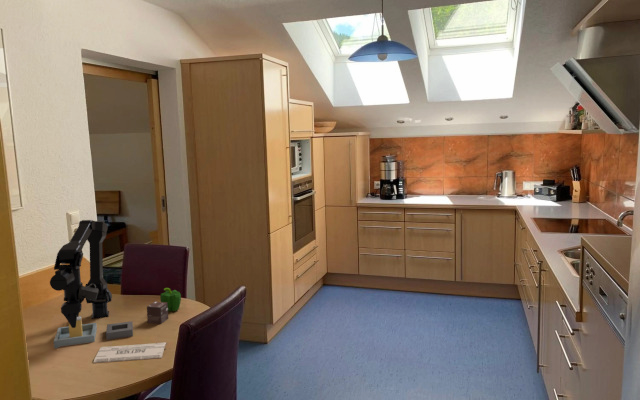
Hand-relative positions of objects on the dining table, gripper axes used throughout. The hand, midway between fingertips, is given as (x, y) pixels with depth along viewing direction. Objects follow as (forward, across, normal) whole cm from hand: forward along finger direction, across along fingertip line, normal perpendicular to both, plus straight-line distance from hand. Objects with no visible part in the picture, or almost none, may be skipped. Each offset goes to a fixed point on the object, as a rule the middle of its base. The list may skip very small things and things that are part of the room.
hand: (75, 323), depth 183 cm
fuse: (+5, 0, 0) cm, 5 cm away
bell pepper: (+6, +18, -35) cm, 40 cm away
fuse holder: (+6, -2, -15) cm, 16 cm away
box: (+6, +6, -29) cm, 30 cm away
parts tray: (+6, 0, 0) cm, 6 cm away
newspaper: (+7, -20, -19) cm, 28 cm away
